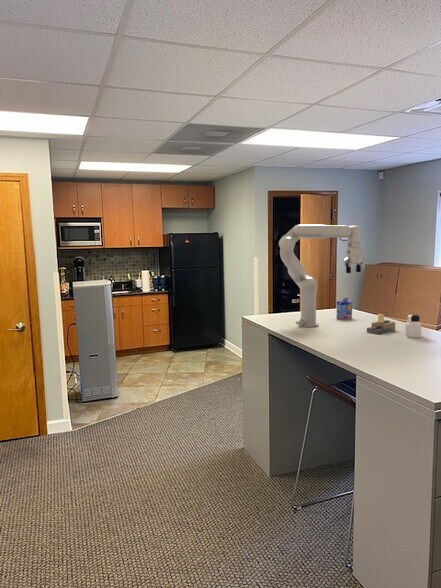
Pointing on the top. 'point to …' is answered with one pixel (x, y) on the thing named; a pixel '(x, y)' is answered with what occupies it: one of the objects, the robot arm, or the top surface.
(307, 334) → the top surface
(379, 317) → the pin
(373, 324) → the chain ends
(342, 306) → the ink cartridge box
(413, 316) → the medicine bottle
